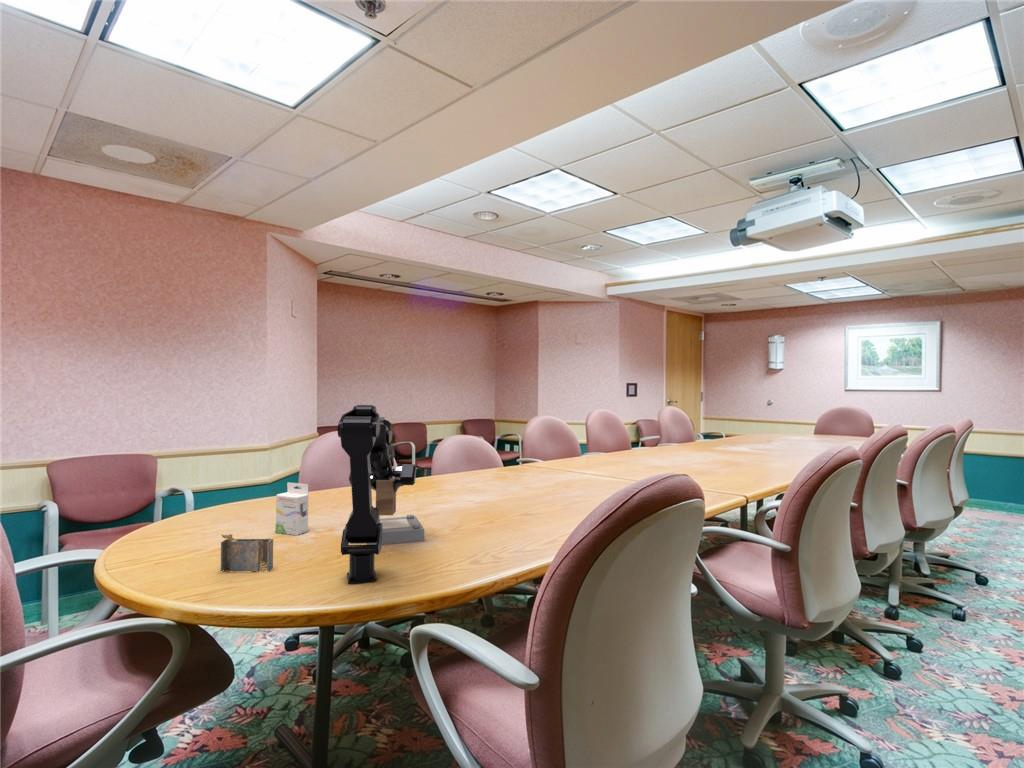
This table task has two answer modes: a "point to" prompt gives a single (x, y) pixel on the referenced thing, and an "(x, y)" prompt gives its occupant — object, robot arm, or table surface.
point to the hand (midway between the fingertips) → (387, 490)
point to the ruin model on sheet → (246, 554)
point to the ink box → (292, 510)
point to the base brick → (401, 530)
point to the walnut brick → (385, 497)
